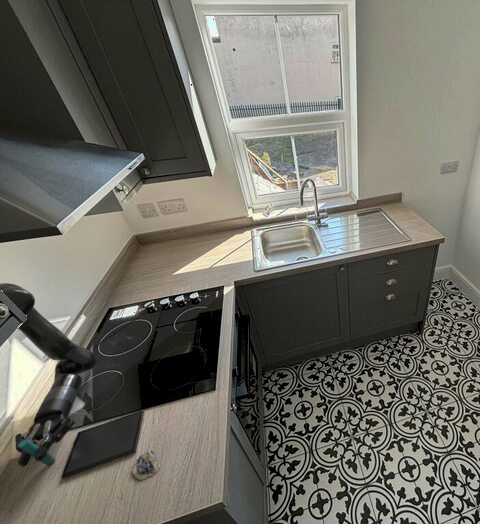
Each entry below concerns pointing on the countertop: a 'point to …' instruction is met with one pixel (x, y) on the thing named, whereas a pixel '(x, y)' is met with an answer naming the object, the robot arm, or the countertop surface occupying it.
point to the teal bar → (35, 451)
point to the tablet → (104, 444)
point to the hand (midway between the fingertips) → (30, 462)
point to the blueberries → (145, 466)
